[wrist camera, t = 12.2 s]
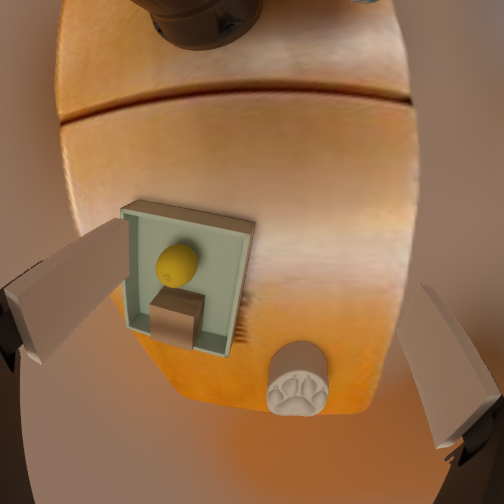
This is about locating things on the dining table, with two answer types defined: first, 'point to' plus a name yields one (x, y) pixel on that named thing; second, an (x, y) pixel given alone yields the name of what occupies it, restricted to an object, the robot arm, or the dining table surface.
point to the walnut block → (176, 317)
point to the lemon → (176, 266)
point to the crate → (208, 272)
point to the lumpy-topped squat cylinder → (298, 380)
